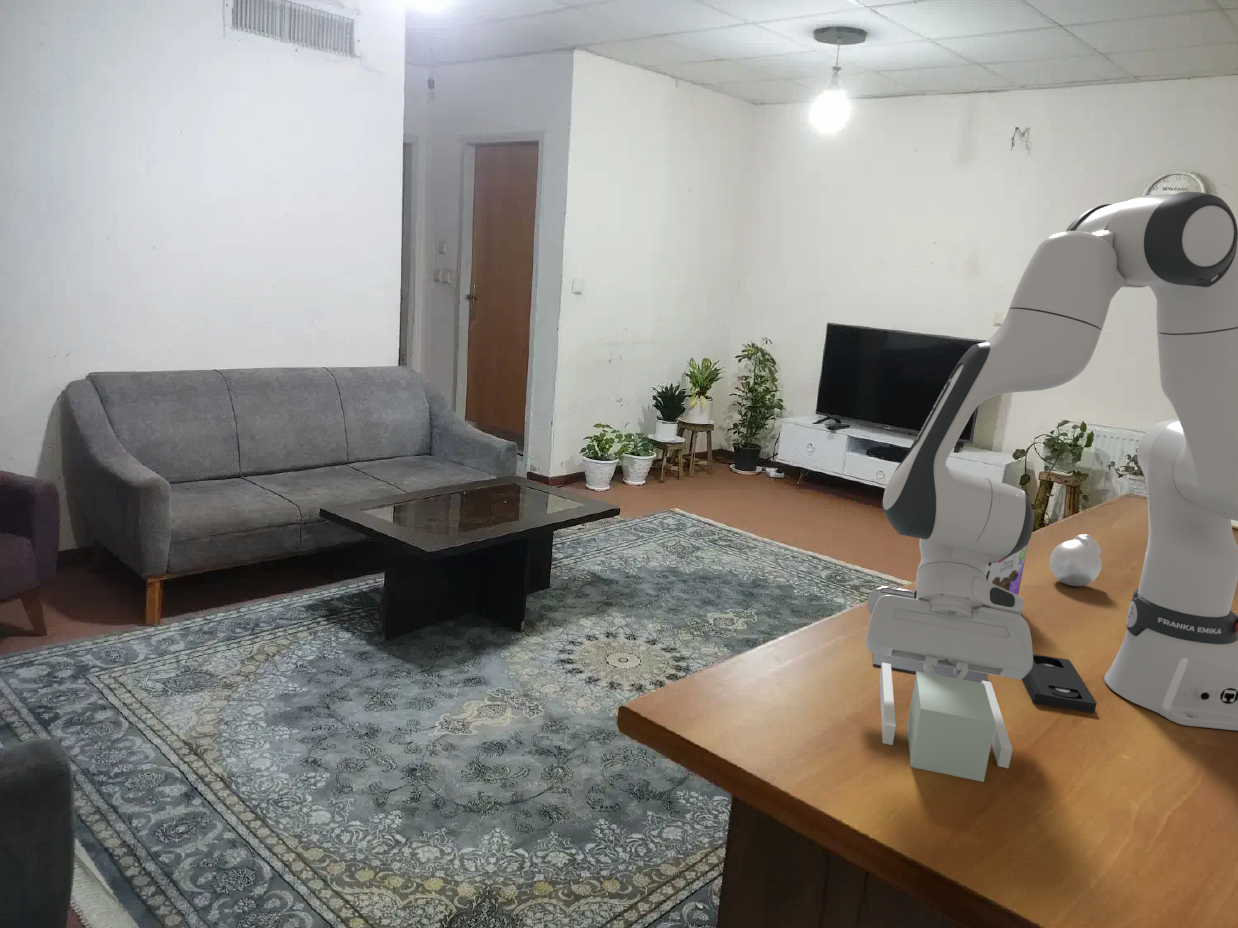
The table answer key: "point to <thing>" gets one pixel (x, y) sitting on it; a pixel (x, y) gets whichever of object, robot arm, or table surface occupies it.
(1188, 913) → the table surface
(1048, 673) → the vhs tape
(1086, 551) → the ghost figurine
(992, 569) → the candy box
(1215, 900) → the table surface
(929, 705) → the sage block
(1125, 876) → the table surface
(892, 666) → the channel
